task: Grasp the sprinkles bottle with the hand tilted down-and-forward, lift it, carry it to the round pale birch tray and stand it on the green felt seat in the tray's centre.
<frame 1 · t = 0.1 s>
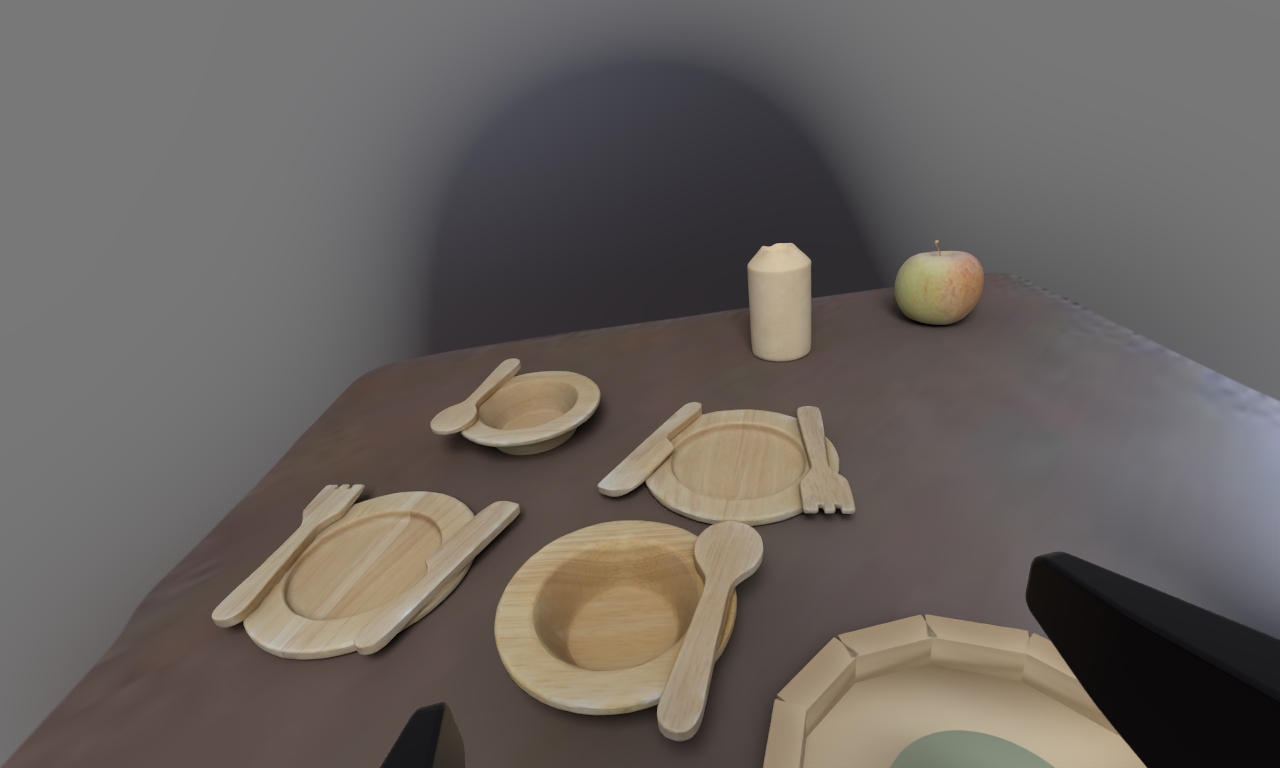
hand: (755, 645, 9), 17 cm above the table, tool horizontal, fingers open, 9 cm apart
fruit: (936, 322, 60), on the table
cream bottle: (781, 352, 58), on the table
tableware set: (567, 520, 40), on the table
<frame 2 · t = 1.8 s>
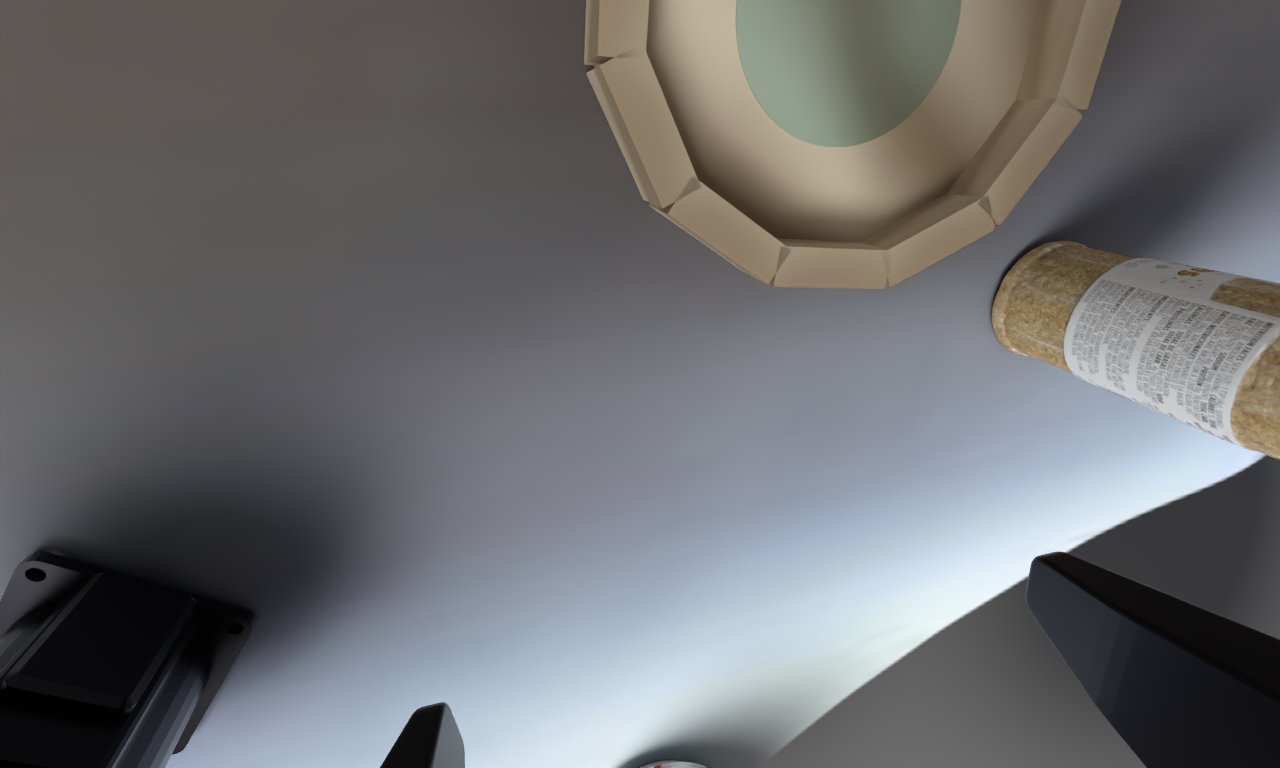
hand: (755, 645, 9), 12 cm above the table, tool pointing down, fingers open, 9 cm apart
sprinkles bottle: (1032, 296, 24), on the table
tray: (839, 18, 18), on the table
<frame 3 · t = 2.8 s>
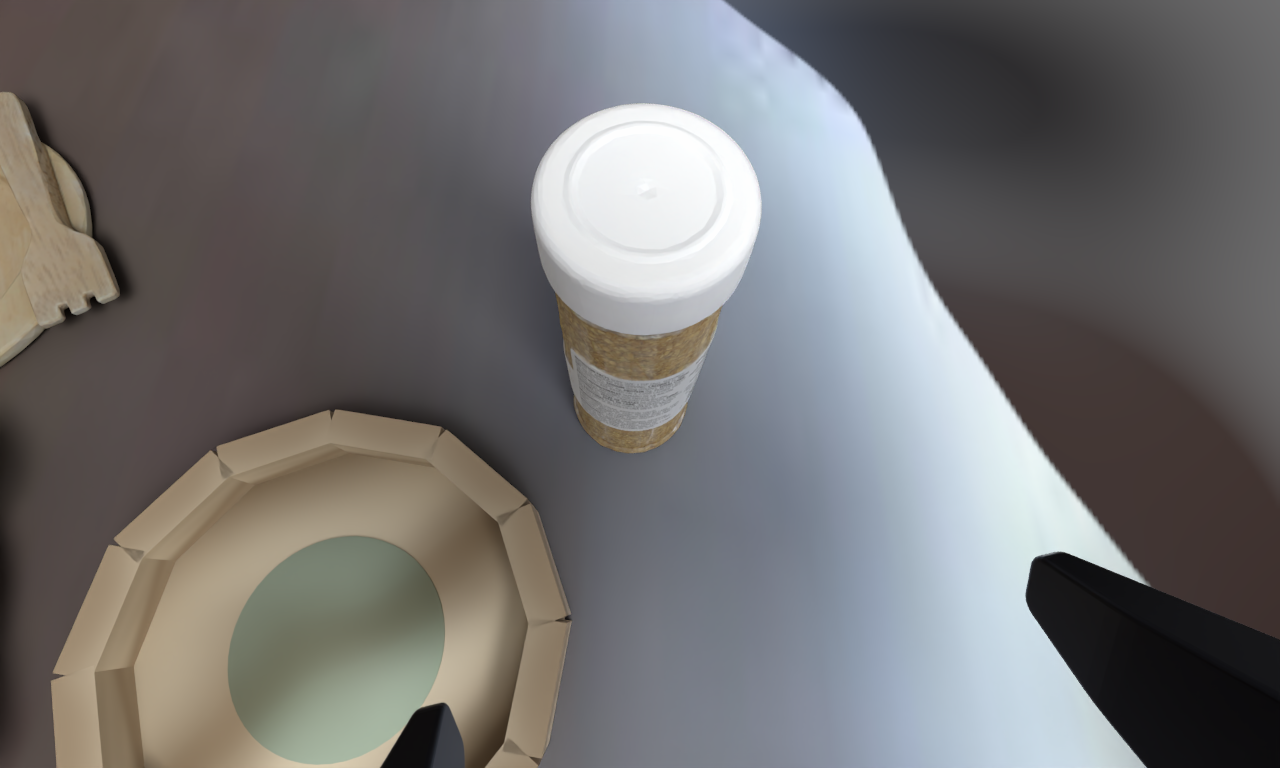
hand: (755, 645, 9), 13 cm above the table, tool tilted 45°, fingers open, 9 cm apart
sprinkles bottle: (630, 402, 24), on the table
tray: (346, 642, 21), on the table
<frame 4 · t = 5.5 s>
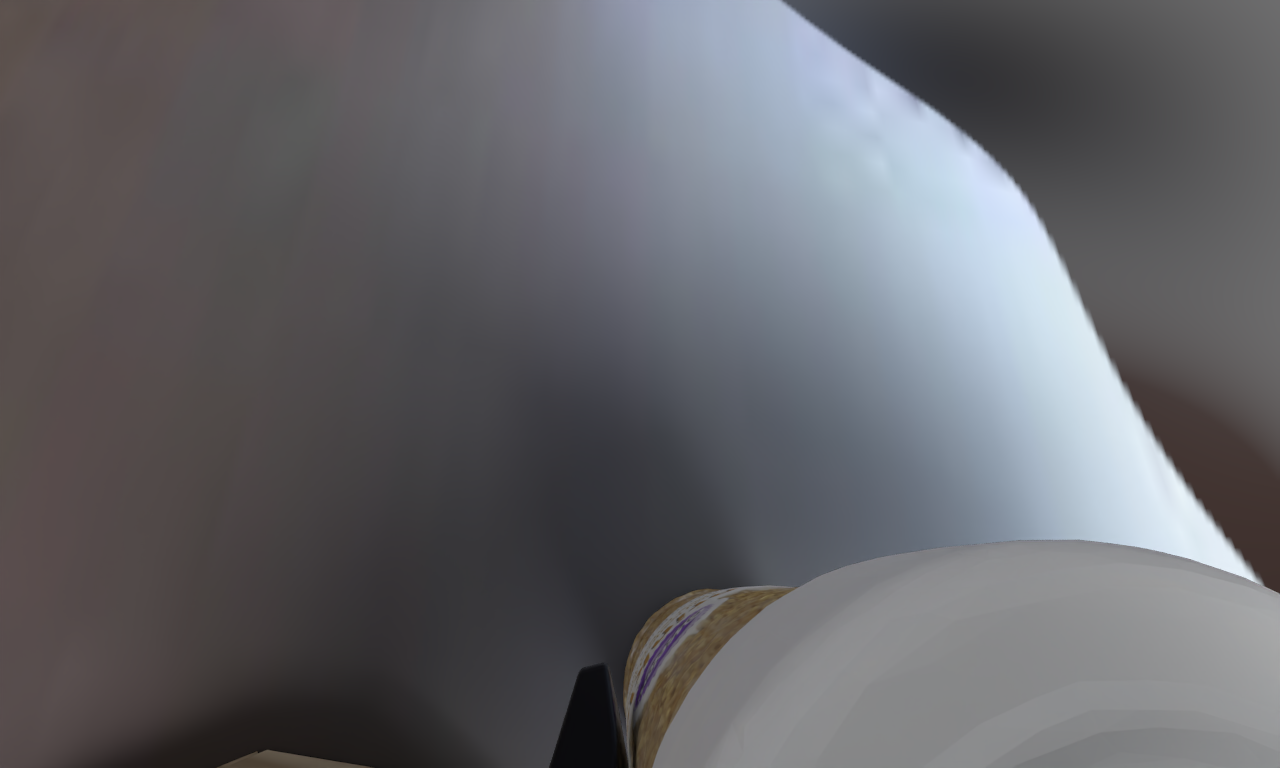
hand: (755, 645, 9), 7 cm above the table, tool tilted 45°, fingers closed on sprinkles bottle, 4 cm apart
sprinkles bottle: (714, 687, 15), on the table, touching gripper
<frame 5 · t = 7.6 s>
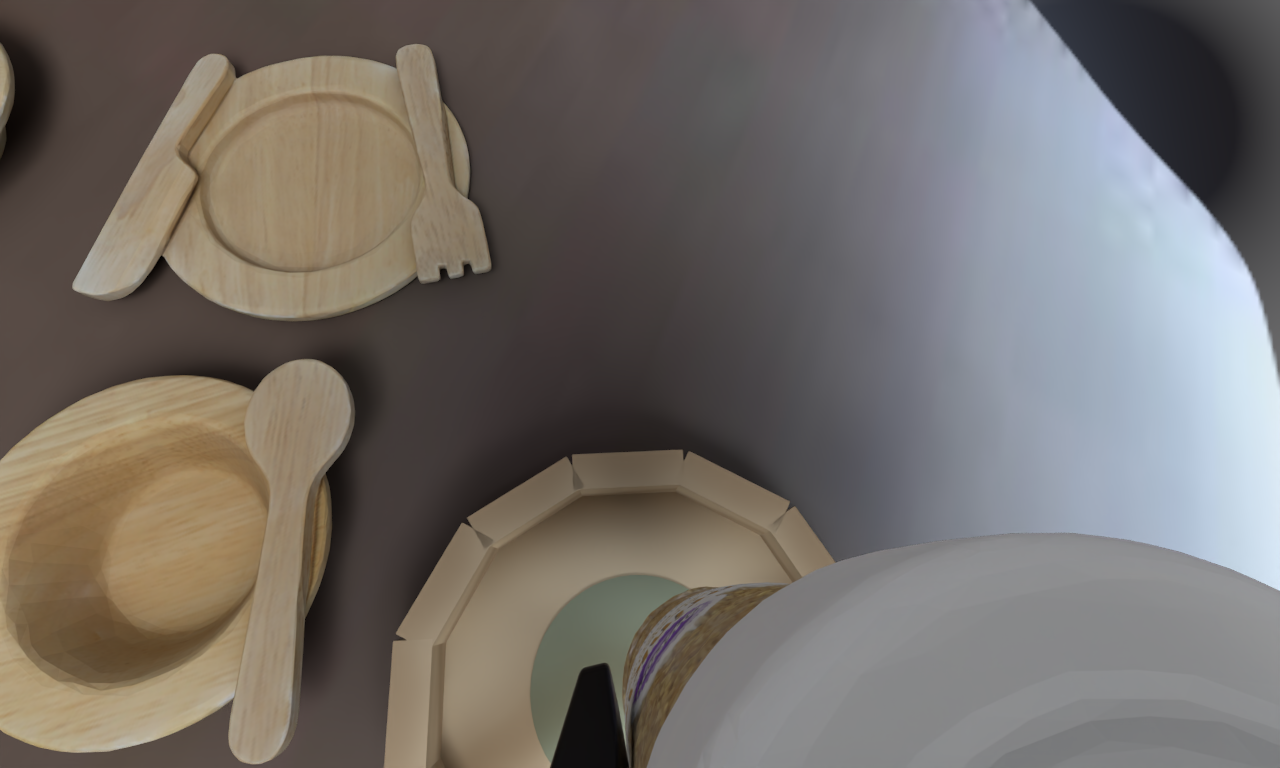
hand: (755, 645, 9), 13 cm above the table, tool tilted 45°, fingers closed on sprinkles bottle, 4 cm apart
sprinkles bottle: (712, 685, 15), point 6 cm above the table, touching gripper
tableware set: (54, 348, 24), on the table
tray: (637, 683, 21), on the table
when the fingers open (8 cm above the table, at t = 9.3 s): sprinkles bottle stays where it is, resting on tray.
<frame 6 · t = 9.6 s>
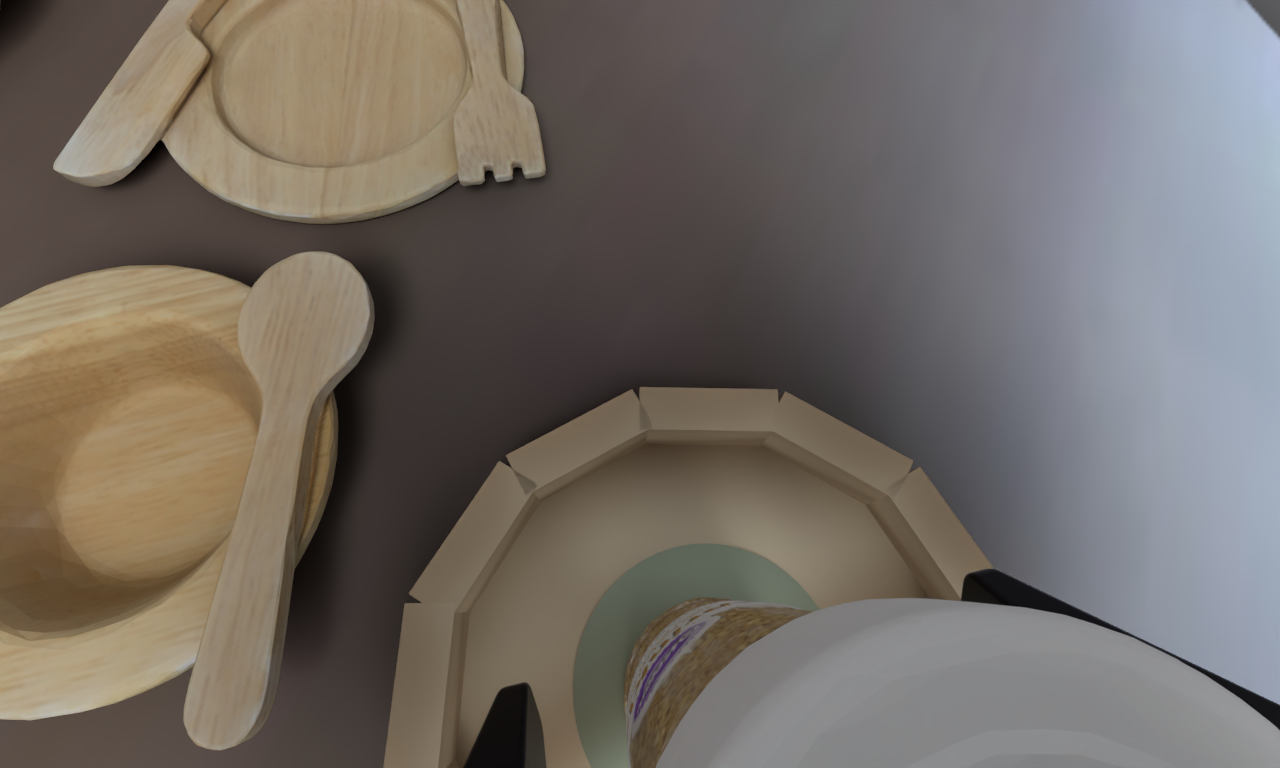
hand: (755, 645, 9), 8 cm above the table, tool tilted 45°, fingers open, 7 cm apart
sprinkles bottle: (710, 691, 16), point 1 cm above the table, touching tray
tableware set: (30, 242, 21), on the table
tray: (706, 681, 16), on the table
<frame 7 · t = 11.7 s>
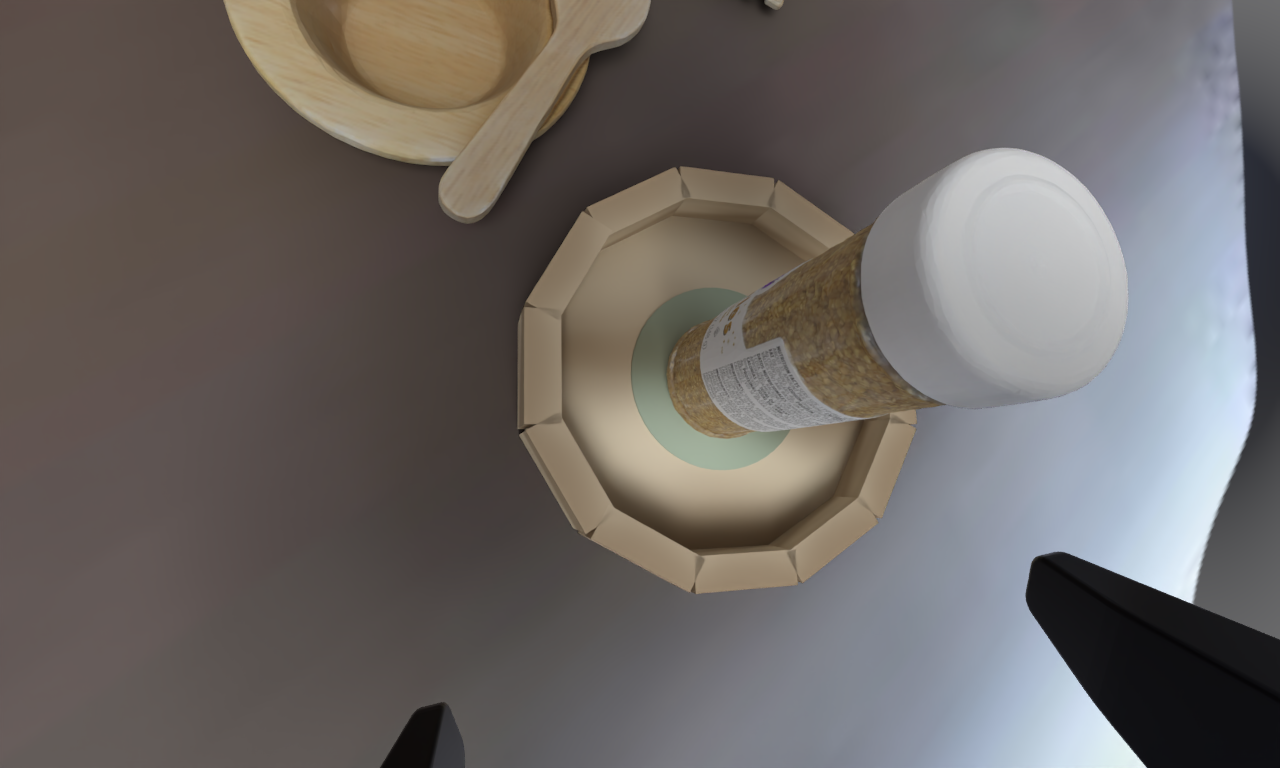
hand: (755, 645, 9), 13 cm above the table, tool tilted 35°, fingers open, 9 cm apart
sprinkles bottle: (716, 382, 23), point 1 cm above the table, touching tray
tray: (712, 379, 24), on the table
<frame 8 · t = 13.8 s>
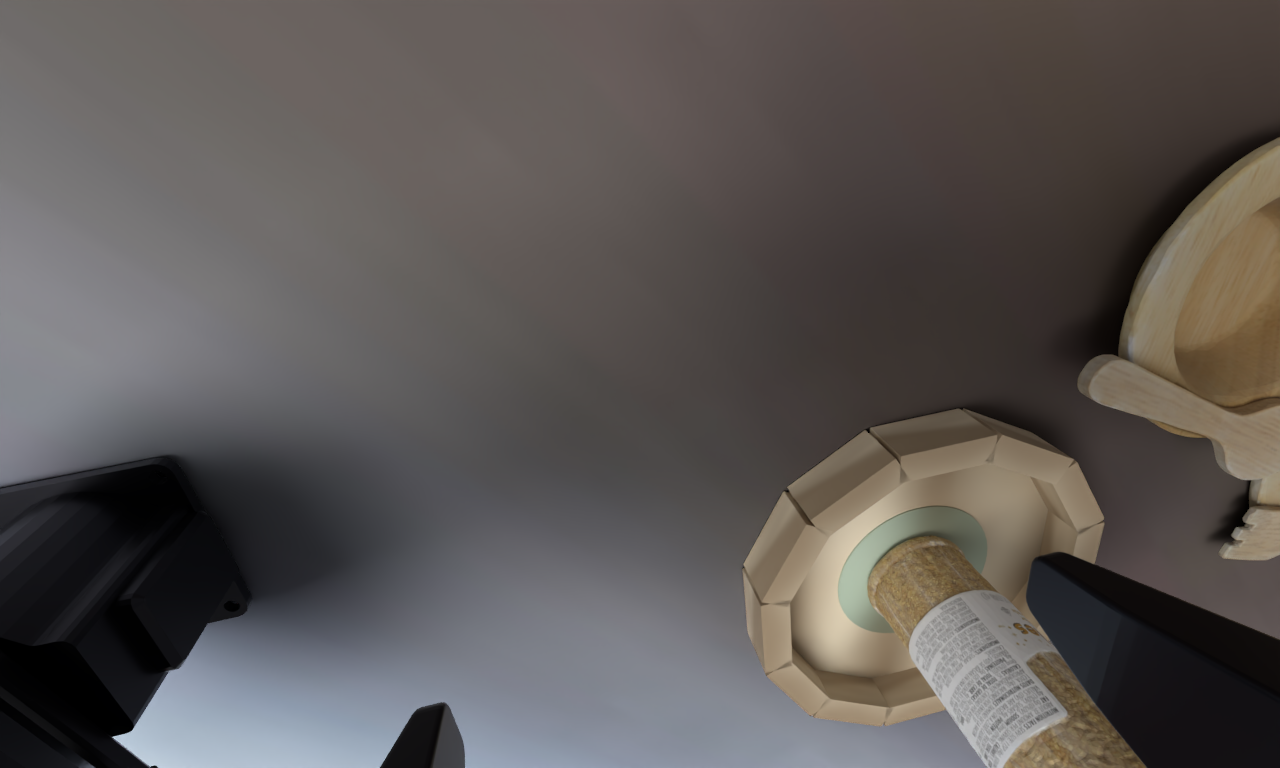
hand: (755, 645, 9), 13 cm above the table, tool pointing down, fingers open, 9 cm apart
sprinkles bottle: (907, 569, 27), point 1 cm above the table, touching tray
tray: (904, 562, 27), on the table
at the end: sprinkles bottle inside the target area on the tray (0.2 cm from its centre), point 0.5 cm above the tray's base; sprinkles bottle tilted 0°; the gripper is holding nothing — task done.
